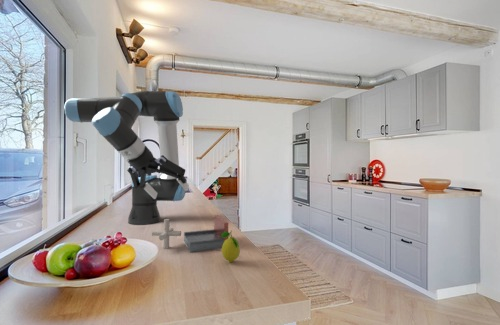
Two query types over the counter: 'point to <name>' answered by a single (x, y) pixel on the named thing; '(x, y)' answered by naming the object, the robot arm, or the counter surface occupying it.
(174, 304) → the counter surface
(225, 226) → the grey shallow tray
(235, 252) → the lemon
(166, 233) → the pipe connector
